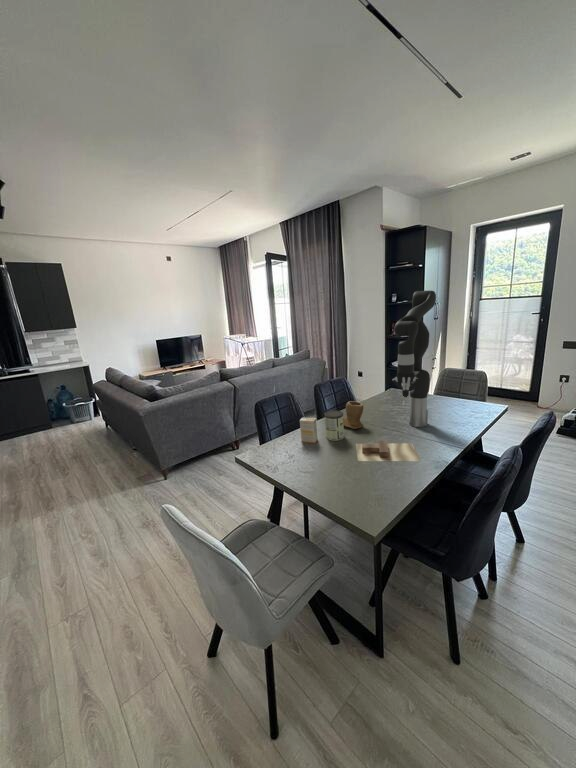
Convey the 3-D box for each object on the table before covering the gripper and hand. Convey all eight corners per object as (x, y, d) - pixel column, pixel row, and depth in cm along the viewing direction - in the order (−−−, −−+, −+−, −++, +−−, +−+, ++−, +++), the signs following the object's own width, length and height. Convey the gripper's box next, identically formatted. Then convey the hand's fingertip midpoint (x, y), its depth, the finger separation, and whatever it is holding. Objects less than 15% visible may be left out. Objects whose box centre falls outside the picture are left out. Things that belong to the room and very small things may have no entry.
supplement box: (317, 439, 171) (316, 418, 168) (315, 443, 167) (313, 421, 164) (304, 438, 175) (302, 416, 171) (301, 442, 171) (299, 420, 167)
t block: (386, 446, 155) (386, 440, 154) (388, 457, 144) (388, 451, 143) (362, 445, 158) (362, 440, 157) (362, 457, 147) (362, 451, 146)
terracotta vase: (368, 425, 184) (367, 402, 180) (354, 431, 177) (354, 407, 174) (349, 419, 196) (348, 397, 192) (335, 425, 189) (334, 402, 185)
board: (412, 445, 156) (412, 443, 156) (421, 463, 139) (421, 461, 139) (355, 445, 161) (355, 443, 161) (357, 462, 144) (357, 461, 143)
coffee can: (327, 432, 180) (326, 409, 176) (345, 433, 176) (344, 410, 173) (324, 440, 170) (322, 416, 167) (342, 441, 167) (341, 417, 163)
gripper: (418, 360, 151) (417, 394, 155) (390, 362, 153) (390, 395, 158) (422, 363, 144) (421, 398, 148) (392, 365, 146) (392, 399, 151)
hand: (405, 396), depth 153 cm, fingers closed
